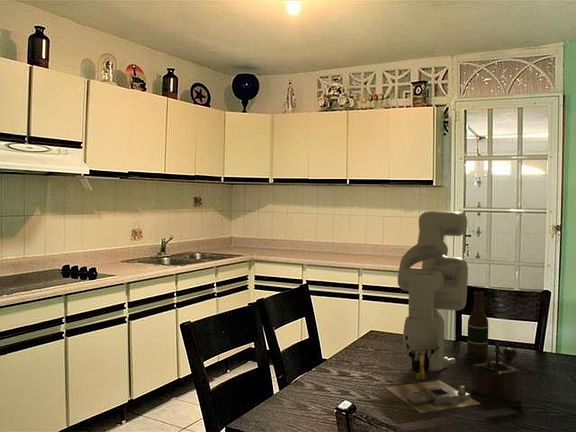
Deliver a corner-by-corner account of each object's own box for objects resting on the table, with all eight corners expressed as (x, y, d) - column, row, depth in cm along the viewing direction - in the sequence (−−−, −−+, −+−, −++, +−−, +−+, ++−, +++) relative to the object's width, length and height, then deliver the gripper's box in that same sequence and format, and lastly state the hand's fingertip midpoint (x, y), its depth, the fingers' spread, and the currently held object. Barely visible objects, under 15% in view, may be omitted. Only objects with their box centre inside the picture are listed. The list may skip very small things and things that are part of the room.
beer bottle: (465, 349, 208) (466, 290, 207) (485, 350, 206) (486, 290, 206) (469, 355, 200) (470, 293, 199) (490, 356, 199) (491, 294, 198)
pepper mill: (468, 394, 160) (469, 337, 159) (495, 389, 165) (496, 333, 164) (508, 414, 146) (510, 350, 145) (536, 407, 151) (538, 346, 150)
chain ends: (457, 391, 159) (457, 381, 158) (474, 401, 151) (475, 391, 151) (403, 399, 152) (403, 388, 152) (418, 409, 145) (418, 399, 145)
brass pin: (422, 374, 164) (422, 347, 164) (428, 378, 161) (428, 350, 160) (412, 376, 163) (412, 348, 162) (418, 380, 160) (418, 351, 159)
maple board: (439, 384, 168) (439, 380, 168) (480, 408, 149) (480, 403, 149) (384, 392, 162) (384, 387, 162) (420, 418, 143) (420, 412, 143)
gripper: (436, 308, 167) (435, 363, 168) (391, 312, 162) (391, 370, 163) (450, 313, 160) (449, 372, 161) (404, 318, 154) (404, 378, 156)
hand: (420, 370), depth 162 cm, fingers closed on brass pin, 2 cm apart
